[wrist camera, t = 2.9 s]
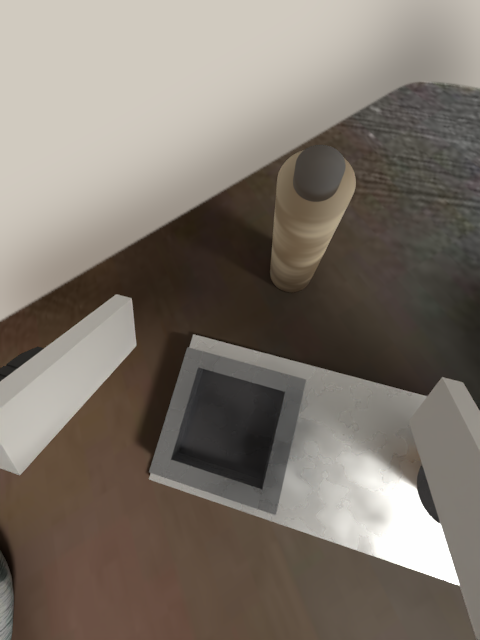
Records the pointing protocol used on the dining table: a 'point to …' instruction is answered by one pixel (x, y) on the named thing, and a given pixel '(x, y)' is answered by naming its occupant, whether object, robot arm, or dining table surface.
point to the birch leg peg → (307, 213)
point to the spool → (6, 600)
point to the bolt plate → (303, 452)
